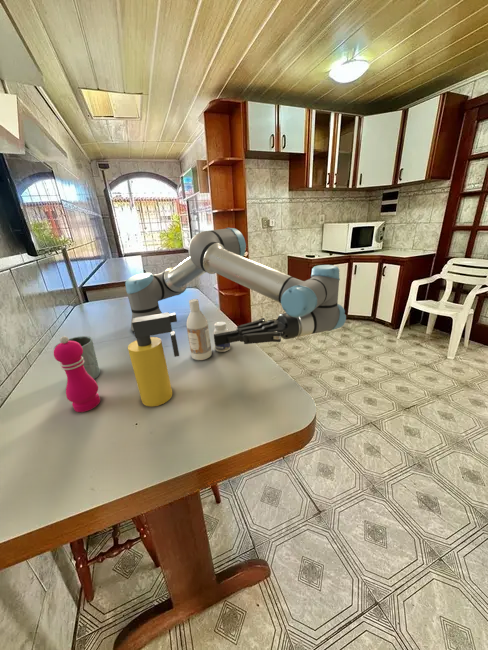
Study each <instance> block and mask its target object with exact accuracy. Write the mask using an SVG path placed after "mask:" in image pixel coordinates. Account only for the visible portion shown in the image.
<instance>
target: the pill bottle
mask: <svg viewBox="0 0 488 650" xmlns="http://www.w3.org/2000/svg"><path fill="white" fill-rule="evenodd" d="M229 331H230V330H229V329H228V327H227V322H225V321H217V322H215V323H214V329H213V335H214V334H219V333H224V332H229ZM214 348H215V350H216V352H219V353H224V352H228V351H229V350H231V343H227V344H222V345H217V346H216V345H215V344H214Z"/></svg>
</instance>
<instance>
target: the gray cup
mask: <svg viewBox="0 0 488 650" xmlns="http://www.w3.org/2000/svg"><path fill="white" fill-rule="evenodd" d="M68 339H69V341H76V342H78V343H79V344H80V345H81V346H82V348H83V353H82V355H81V356H82V357H83V360H84V364H83V365H84V368H85V370H86V372H87V373H88V374H89V375H90V376H91V377H92V378H93V379H94V380H96V378H98V377H99V376H100V374H101V370H100V367H99V363H98V359H97V354H96V350H95V345H94V340H93V338H92V337H91V336H90V335H89V336H88V335H79V336H75V337H71V338H68ZM60 343H61V342H60V341H59V343H57V344H56V345H54V346H53V350H54V349H55V347H56V346H57V345H58V344H60ZM60 363H61V362H59V364H60ZM63 371H64V372H65V370H63Z"/></svg>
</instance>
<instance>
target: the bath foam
mask: <svg viewBox="0 0 488 650" xmlns="http://www.w3.org/2000/svg"><path fill="white" fill-rule="evenodd" d="M188 303H189V310H190V311H189V314H188V316H187V317H186V318H187V319H186V330H187V331H186V332H187V338H188V343H189V350H190V355H191V358H192V359H193V360H195V361H204V360H208V359H209V358H210V357H211V356H212V354H213V352H212V344H211V337H210V330H209V329H210V327H209V322H208V320H207V317H206V316H205V314H204V313H203V312H202V311H201V310H200V302H199V299H197V298H193V299H190V300H188Z"/></svg>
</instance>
